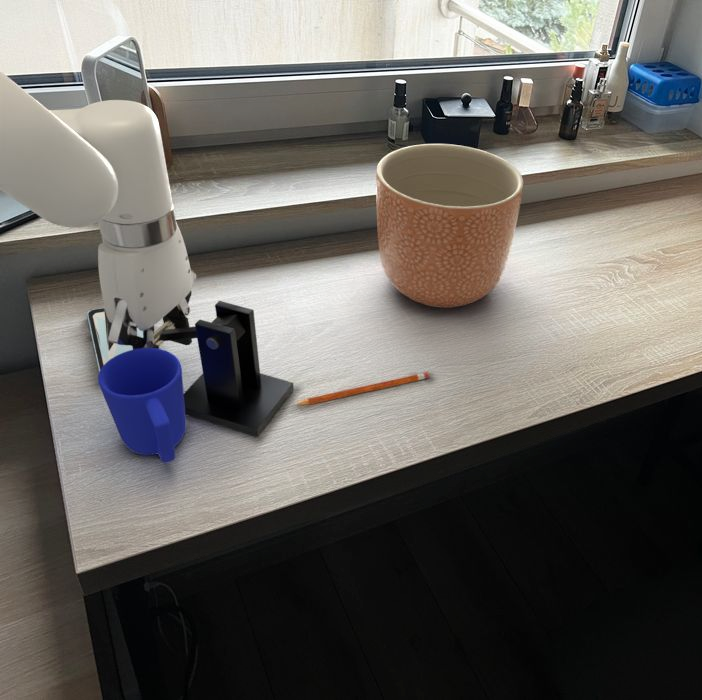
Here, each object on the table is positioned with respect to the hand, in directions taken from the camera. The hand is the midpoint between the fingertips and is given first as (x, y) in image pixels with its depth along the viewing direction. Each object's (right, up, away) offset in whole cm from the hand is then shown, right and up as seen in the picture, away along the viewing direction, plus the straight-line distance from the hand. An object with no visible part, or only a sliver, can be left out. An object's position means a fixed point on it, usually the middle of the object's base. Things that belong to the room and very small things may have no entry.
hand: (165, 354), depth 88 cm
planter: (+33, +10, +26) cm, 43 cm away
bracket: (+8, -6, +1) cm, 10 cm away
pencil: (+23, -5, +5) cm, 24 cm away
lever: (+5, +2, -3) cm, 6 cm away
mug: (+2, -11, -6) cm, 12 cm away
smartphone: (-9, +1, +8) cm, 11 cm away
